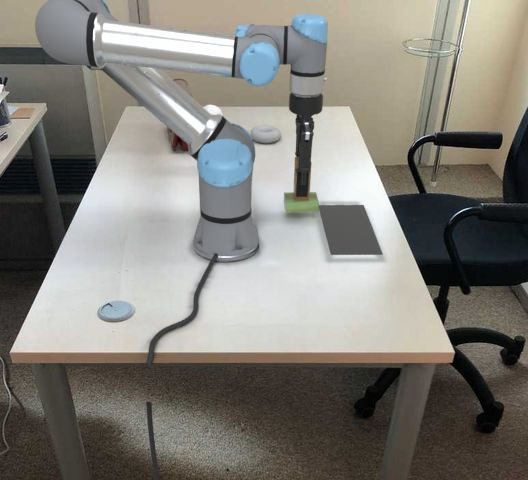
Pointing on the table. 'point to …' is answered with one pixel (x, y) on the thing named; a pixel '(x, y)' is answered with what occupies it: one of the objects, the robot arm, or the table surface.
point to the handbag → (173, 137)
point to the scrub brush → (300, 203)
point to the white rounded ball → (213, 109)
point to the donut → (265, 134)
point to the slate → (349, 230)
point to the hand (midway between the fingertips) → (300, 192)
